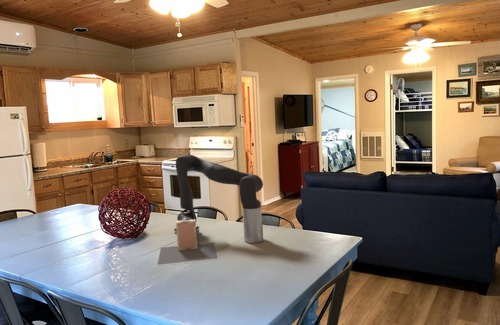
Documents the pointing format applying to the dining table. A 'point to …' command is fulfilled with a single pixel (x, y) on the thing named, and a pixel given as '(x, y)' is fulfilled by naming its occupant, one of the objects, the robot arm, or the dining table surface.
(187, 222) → the birch tile
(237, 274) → the dining table surface
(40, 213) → the dining table surface
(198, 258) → the rubber mat
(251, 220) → the robot arm
